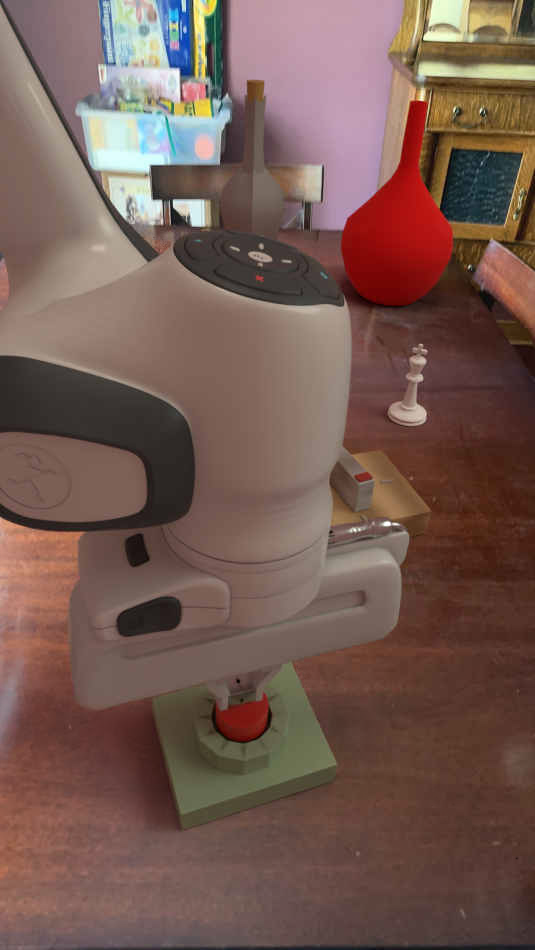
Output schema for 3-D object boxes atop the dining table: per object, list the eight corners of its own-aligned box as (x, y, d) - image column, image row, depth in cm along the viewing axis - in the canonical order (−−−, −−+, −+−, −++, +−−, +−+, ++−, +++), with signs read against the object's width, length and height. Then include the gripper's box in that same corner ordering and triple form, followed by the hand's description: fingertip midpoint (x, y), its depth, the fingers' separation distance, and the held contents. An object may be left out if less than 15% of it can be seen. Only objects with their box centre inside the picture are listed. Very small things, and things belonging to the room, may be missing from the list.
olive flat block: (181, 831, 44) (179, 800, 42) (153, 714, 51) (150, 682, 49) (334, 781, 48) (340, 750, 45) (289, 677, 54) (292, 645, 52)
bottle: (211, 270, 123) (210, 82, 105) (232, 251, 132) (234, 73, 114) (270, 280, 121) (279, 88, 103) (287, 259, 129) (298, 79, 111)
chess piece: (422, 429, 84) (438, 357, 78) (383, 421, 85) (396, 349, 79) (429, 410, 88) (444, 340, 82) (391, 402, 89) (404, 332, 83)
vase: (450, 320, 110) (496, 116, 92) (338, 314, 110) (362, 109, 92) (431, 278, 125) (467, 95, 107) (332, 273, 125) (352, 89, 107)
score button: (224, 748, 45) (224, 734, 44) (209, 703, 48) (209, 688, 47) (274, 733, 46) (275, 719, 45) (257, 690, 49) (258, 675, 48)
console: (298, 562, 65) (301, 538, 63) (260, 491, 73) (261, 468, 71) (426, 534, 69) (432, 510, 67) (376, 470, 77) (381, 447, 75)
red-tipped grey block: (320, 472, 71) (323, 443, 69) (335, 468, 72) (338, 439, 69) (354, 512, 66) (359, 482, 64) (370, 508, 67) (375, 478, 64)
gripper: (389, 481, 42) (358, 627, 50) (47, 540, 36) (77, 695, 44) (441, 548, 37) (398, 698, 46) (58, 629, 31) (89, 784, 40)
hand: (237, 697), depth 45 cm, fingers closed
